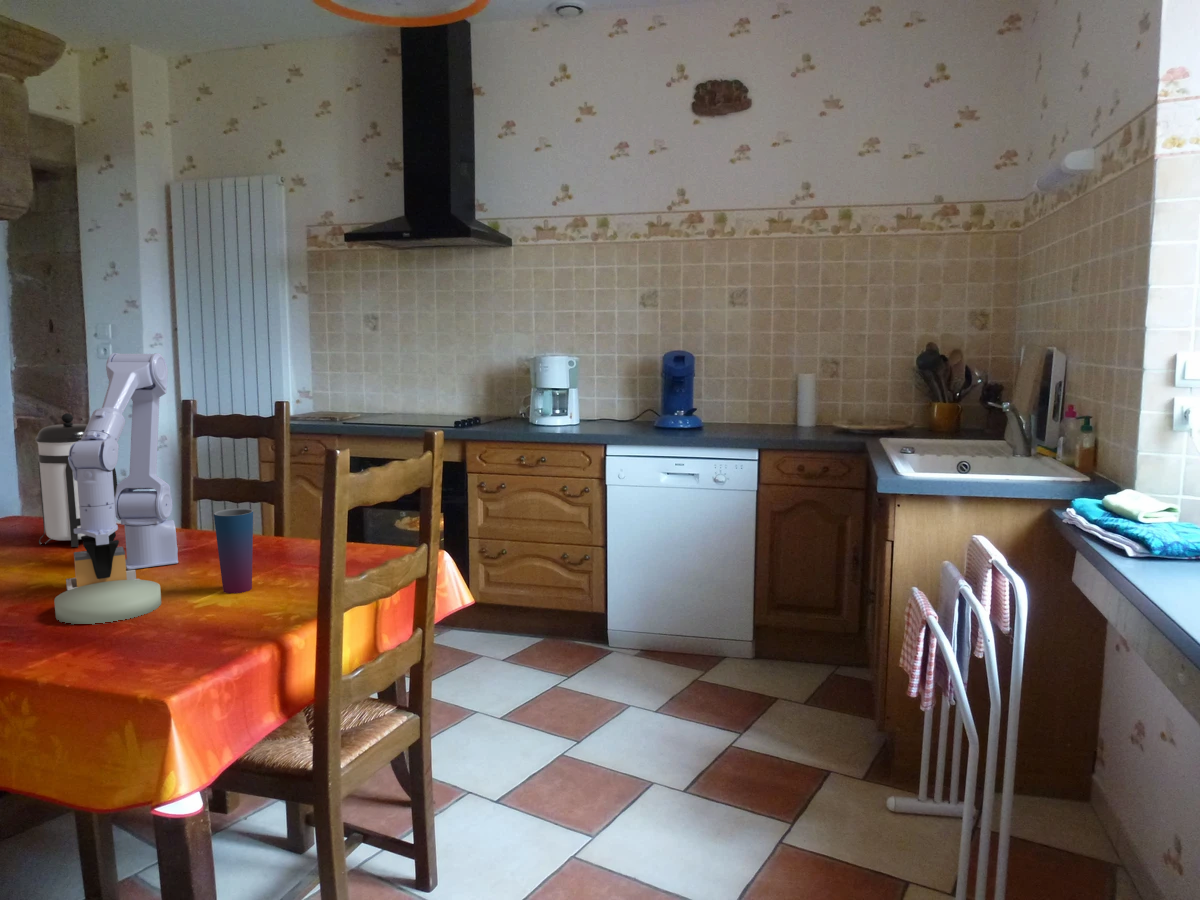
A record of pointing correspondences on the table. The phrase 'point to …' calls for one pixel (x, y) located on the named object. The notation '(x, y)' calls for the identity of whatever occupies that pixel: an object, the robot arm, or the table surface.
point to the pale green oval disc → (107, 600)
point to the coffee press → (60, 480)
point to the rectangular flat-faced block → (86, 569)
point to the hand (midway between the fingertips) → (102, 574)
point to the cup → (235, 548)
